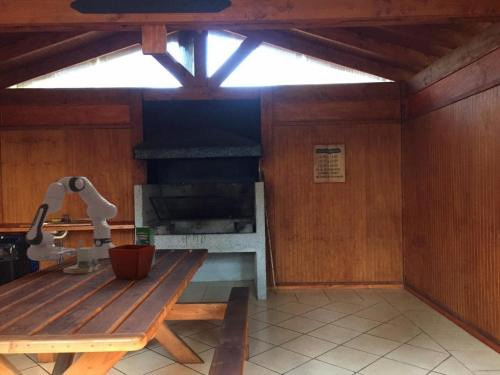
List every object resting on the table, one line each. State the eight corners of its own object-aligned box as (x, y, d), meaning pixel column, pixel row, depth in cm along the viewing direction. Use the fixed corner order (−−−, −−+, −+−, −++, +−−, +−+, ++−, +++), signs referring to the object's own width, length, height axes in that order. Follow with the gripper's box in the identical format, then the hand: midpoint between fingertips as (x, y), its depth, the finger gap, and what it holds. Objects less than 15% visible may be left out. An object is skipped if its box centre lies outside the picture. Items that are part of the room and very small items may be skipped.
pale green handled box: (82, 265, 253) (81, 240, 253) (92, 265, 252) (92, 240, 252) (77, 267, 248) (77, 241, 248) (88, 267, 247) (87, 241, 247)
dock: (78, 267, 259) (78, 257, 259) (101, 268, 257) (101, 257, 257) (63, 273, 243) (63, 262, 243) (87, 273, 241) (86, 262, 241)
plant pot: (156, 274, 236) (156, 244, 236) (138, 281, 217) (138, 249, 217) (127, 273, 241) (126, 244, 241) (107, 280, 223) (106, 248, 223)
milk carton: (154, 264, 268) (154, 225, 268) (150, 266, 259) (149, 227, 259) (141, 264, 269) (140, 225, 269) (136, 266, 260) (135, 227, 260)
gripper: (42, 250, 243) (64, 251, 241) (63, 246, 263) (83, 246, 261) (42, 261, 243) (64, 261, 241) (63, 256, 263) (83, 256, 261)
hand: (74, 253), depth 251 cm, fingers open, 8 cm apart
